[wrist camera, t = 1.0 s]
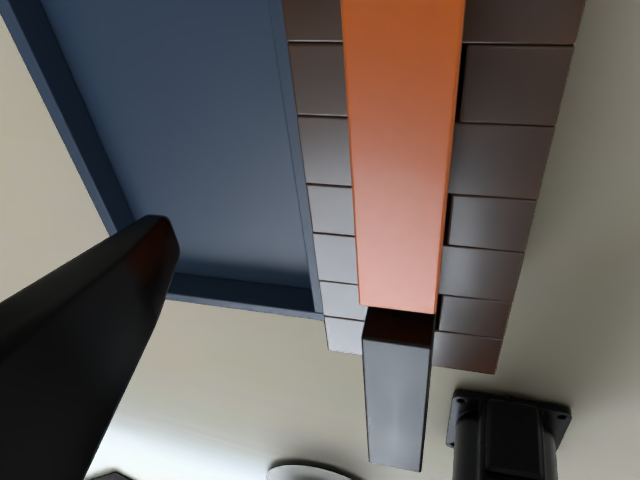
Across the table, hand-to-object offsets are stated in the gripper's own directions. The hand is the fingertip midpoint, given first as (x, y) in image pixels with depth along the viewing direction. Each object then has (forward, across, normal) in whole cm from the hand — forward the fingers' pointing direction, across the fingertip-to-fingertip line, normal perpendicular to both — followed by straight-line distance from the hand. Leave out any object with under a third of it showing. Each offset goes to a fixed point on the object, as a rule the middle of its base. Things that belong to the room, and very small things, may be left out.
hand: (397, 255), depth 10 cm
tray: (+11, +10, +5) cm, 15 cm away
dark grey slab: (+11, 0, +9) cm, 14 cm away
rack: (+11, 0, +5) cm, 12 cm away
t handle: (+11, 0, 0) cm, 11 cm away
